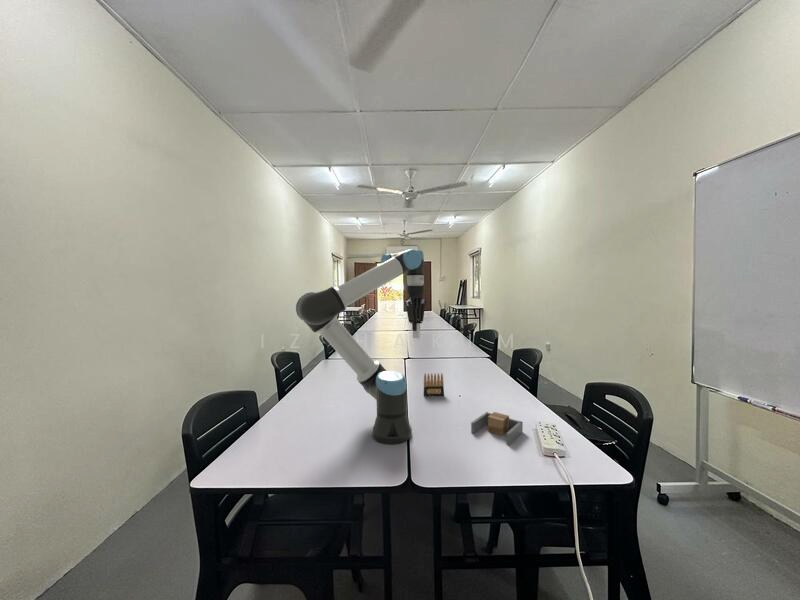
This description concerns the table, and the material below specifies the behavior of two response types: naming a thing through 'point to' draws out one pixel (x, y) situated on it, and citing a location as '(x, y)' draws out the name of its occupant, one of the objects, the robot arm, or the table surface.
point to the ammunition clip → (432, 390)
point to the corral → (514, 432)
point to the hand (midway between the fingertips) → (416, 337)
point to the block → (498, 423)
